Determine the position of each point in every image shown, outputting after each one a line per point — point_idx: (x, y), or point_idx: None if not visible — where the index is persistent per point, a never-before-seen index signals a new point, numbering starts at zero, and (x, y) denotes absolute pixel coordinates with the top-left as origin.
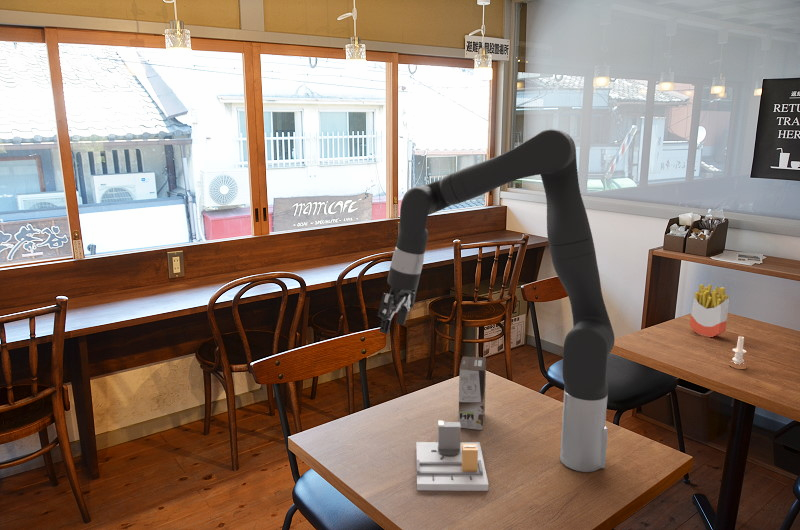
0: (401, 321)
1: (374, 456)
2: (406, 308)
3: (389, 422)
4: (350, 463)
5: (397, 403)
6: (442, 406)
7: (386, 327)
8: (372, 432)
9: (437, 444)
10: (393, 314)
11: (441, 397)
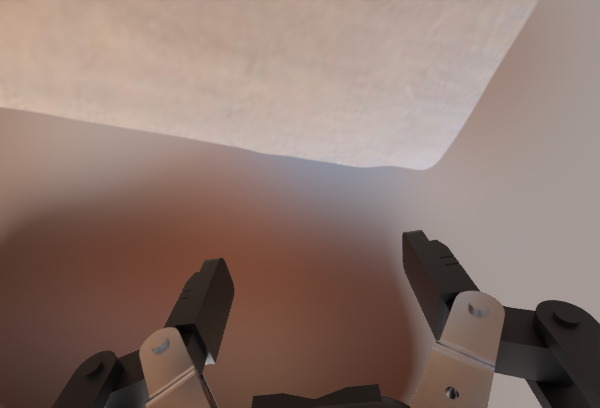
0: (221, 281)
1: (433, 6)
2: (190, 357)
3: (290, 86)
4: (476, 33)
5: (213, 130)
6: (128, 30)
7: (441, 259)
8: (346, 86)
9: None
10: (452, 333)
11: (98, 68)
